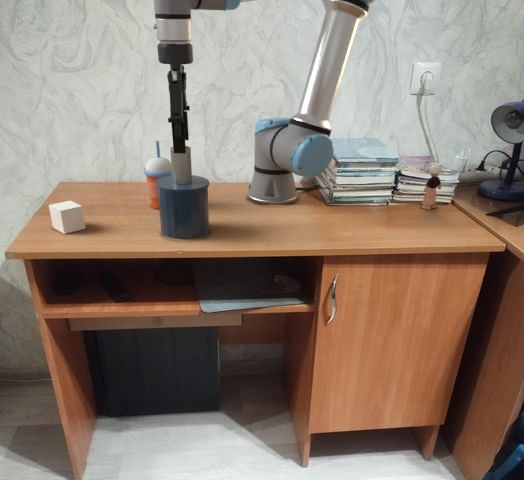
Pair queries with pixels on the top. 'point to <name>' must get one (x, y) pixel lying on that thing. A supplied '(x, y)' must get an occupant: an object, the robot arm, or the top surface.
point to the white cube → (67, 216)
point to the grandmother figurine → (432, 187)
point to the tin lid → (181, 175)
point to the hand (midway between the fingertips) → (181, 146)
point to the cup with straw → (156, 174)
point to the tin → (184, 214)
